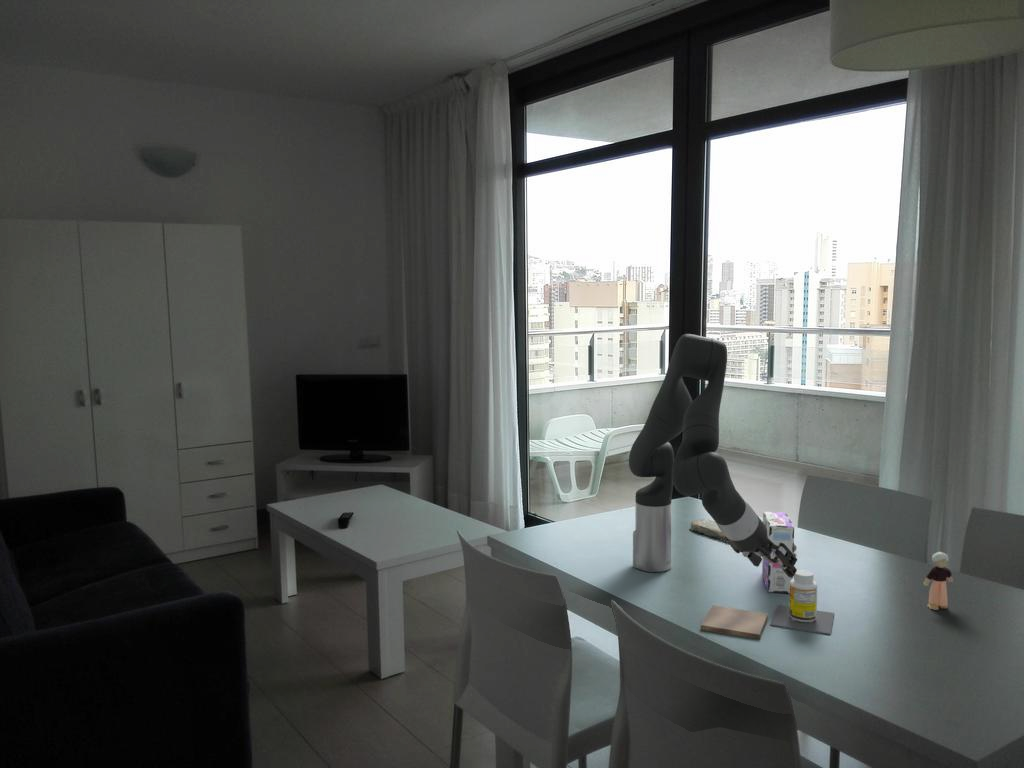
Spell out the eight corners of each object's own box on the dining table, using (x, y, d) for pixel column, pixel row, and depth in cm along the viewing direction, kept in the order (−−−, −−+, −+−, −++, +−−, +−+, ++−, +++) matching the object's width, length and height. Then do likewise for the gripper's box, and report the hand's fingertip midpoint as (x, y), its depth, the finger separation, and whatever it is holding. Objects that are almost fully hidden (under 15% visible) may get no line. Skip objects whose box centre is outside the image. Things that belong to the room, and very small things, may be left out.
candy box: (793, 594, 187) (795, 526, 185) (767, 593, 188) (768, 525, 186) (785, 574, 200) (786, 511, 199) (761, 573, 202) (762, 510, 200)
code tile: (770, 625, 169) (770, 624, 169) (777, 605, 180) (777, 604, 180) (830, 635, 164) (830, 633, 164) (834, 614, 175) (834, 612, 175)
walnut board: (700, 629, 168) (700, 625, 168) (712, 609, 178) (712, 605, 178) (759, 639, 162) (759, 634, 162) (767, 618, 173) (767, 613, 173)
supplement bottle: (794, 611, 176) (795, 566, 175) (820, 617, 172) (821, 571, 171) (785, 619, 172) (786, 573, 171) (810, 625, 168) (812, 578, 167)
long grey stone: (704, 529, 246) (683, 537, 240) (703, 513, 246) (681, 520, 240) (805, 550, 219) (784, 560, 213) (804, 531, 218) (783, 540, 212)
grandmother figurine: (935, 612, 175) (938, 557, 174) (919, 607, 178) (922, 552, 177) (957, 606, 178) (960, 551, 177) (941, 600, 182) (943, 547, 181)
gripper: (778, 516, 153) (813, 562, 161) (721, 501, 165) (756, 545, 172) (760, 548, 151) (796, 593, 158) (703, 530, 162) (739, 573, 170)
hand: (775, 568), depth 165 cm, fingers open, 8 cm apart
